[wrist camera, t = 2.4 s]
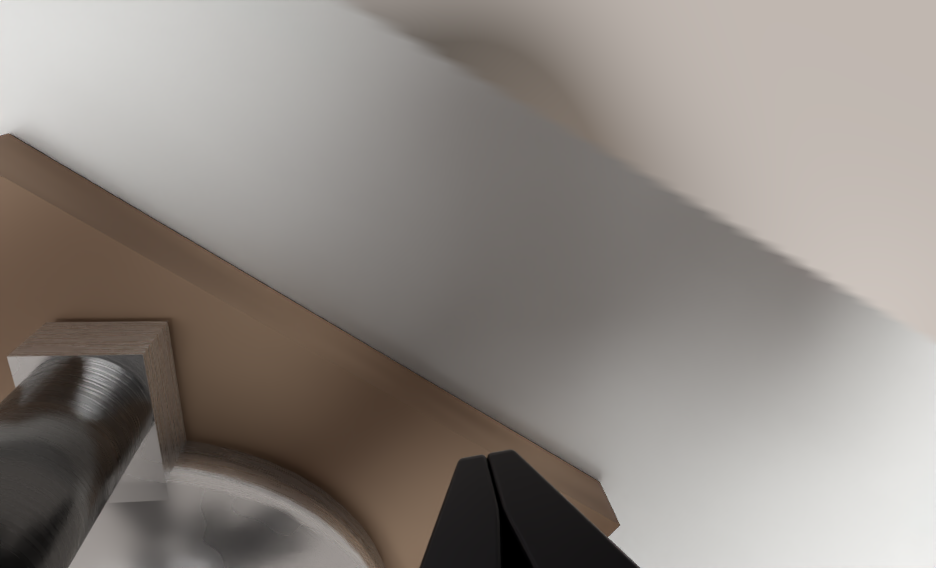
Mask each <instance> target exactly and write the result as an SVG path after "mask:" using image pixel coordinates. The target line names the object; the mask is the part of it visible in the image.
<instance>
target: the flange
mask: <svg viewBox="0 0 936 568" xmlns="http://www.w3.org/2000/svg"><path fill="white" fill-rule="evenodd" d="M7 359H8V363H9V366H10V370H11V373H12V377H13V381H14V384H15V389H14V390H13V391H12V392H11V393H10V394H9V395H8V396H7V397H6V398H5V399H4V400H3V401H2V402H1V403H0V568H385V566H384V563H383V561H382V559H381V557H380V554H379V552H378V550H377V548H376V546H375V544H374V543H373V541H372V540H371V538H370V537H369V535H368V534H367V533H366V531H365V530H364V528H363V527H362V525H361V524H360V523H359V522H358V521H357V520H356V519H355V518H354V517H353V516H352V515H351V514H350V513H349V512H348V510H347V509H346V508H345V507H344V506H343V505H341V504H340V503H339V502H338V501H336V500H335V499H334V498H333V497H331V496H330V495H329V494H327V493H326V492H325V491H324V490H322V489H321V488H319V487H318V486H316V485H314V484H313V483H311V482H309V481H308V480H306V479H305V478H303V477H301V476H300V475H298V474H296V473H294V472H292V471H290V470H288V469H285V468H283V467H281V466H279V465H277V464H274V463H272V462H270V461H268V460H265V459H262V458H259V457H256V456H253V455H250V454H247V453H244V452H241V451H238V450H234V449H230V448H225V447H221V446H216V445H211V444H207V443H202V442H194V441H186V435H185V428H184V422H183V416H182V409H181V403H180V397H179V390H178V384H177V378H176V371H175V365H174V359H173V352H172V346H171V340H170V333H169V327H168V321H134V322H46V323H45V324H44V325H43V326H42V327H40V328H39V329H38V330H37V331H36V332H35V333H33V334H32V335H31V336H30V337H29V338H28V339H27V340H25V341H24V342H23V343H22V344H21V345H20V346H18V347H17V348H16V349H15V350H14V351H13V352H12V353H10V354H9V355H8V356H7Z"/></svg>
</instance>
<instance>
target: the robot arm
mask: <svg viewBox="0 0 936 568" xmlns="http://www.w3.org/2000/svg"><path fill="white" fill-rule="evenodd" d="M419 568H640V567H639V566H638V565H637V564H636V563H634V562H633V561H632V560H631V559H630V558H629V557H628V556H627V555H626V554H625V553H624V552H623V551H622V550H621V549H620V548H618V547H617V546H616V545H615V544H614V543H613V542H612V541H611V540H610V539H609V538H608V537H607V536H606V535H605V534H604V533H602V532H601V531H600V530H599V529H598V528H597V527H596V526H595V525H594V524H593V523H592V522H591V521H590V520H589V519H588V518H586V517H585V516H584V515H583V514H582V513H581V512H580V511H579V510H578V509H577V508H576V507H575V506H574V505H573V504H572V503H570V502H569V501H568V500H567V499H566V498H565V497H564V496H563V495H562V494H561V493H560V492H559V491H558V490H557V489H556V488H554V487H553V486H552V485H551V484H550V483H549V482H548V481H547V480H546V479H545V478H544V477H543V476H542V475H541V474H540V473H538V472H537V471H536V470H535V469H534V468H533V467H532V466H531V465H530V464H529V463H528V462H527V461H526V460H525V459H524V458H522V457H521V456H520V455H519V454H518V453H517V452H516V451H515V450H512V449H508V450H503V451H497V452H492V453H489V454H488V456H487V458H486V456H485V455H475V456H470V457H464V458H461V459H460V460H459V461H458V463H457V465H456V468H455V471H454V473H453V476H452V479H451V482H450V484H449V487H448V490H447V493H446V495H445V498H444V501H443V504H442V506H441V509H440V512H439V515H438V517H437V520H436V523H435V526H434V528H433V531H432V534H431V537H430V540H429V542H428V545H427V548H426V551H425V553H424V556H423V559H422V562H421V564H420V567H419Z"/></svg>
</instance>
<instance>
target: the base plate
mask: <svg viewBox="0 0 936 568" xmlns="http://www.w3.org/2000/svg"><path fill="white" fill-rule="evenodd" d="M134 321H168V327H169V333H170V340H171V346H172V352H173V359H174V365H175V371H176V378H177V384H178V390H179V397H180V403H181V409H182V416H183V422H184V428H185V435H186V441H194V442H202V443H207V444H211V445H216V446H221V447H225V448H230V449H234V450H238V451H241V452H244V453H247V454H250V455H253V456H256V457H259V458H262V459H265V460H268V461H270V462H272V463H274V464H277V465H279V466H281V467H283V468H285V469H288V470H290V471H292V472H294V473H296V474H298V475H300V476H301V477H303V478H305V479H306V480H308V481H309V482H311V483H313V484H314V485H316V486H318V487H319V488H321V489H322V490H324V491H325V492H326V493H327V494H329V495H330V496H331V497H333V498H334V499H335V500H336V501H338V502H339V503H340V504H341V505H343V506H344V507H345V508H346V509H347V510H348V512H349V513H350V514H351V515H352V516H353V517H354V518H355V519H356V520H357V521H358V522H359V523H360V524H361V525H362V527H363V528H364V530H365V531H366V533H367V534H368V535H369V537H370V538H371V540H372V541H373V543H374V544H375V546H376V548H377V550H378V552H379V554H380V557H381V559H382V561H383V563H384V566H385V568H419V567H420V564H421V562H422V559H423V556H424V553H425V551H426V548H427V545H428V542H429V540H430V537H431V534H432V531H433V528H434V526H435V523H436V520H437V517H438V515H439V512H440V509H441V506H442V504H443V501H444V498H445V495H446V493H447V490H448V487H449V484H450V482H451V479H452V476H453V473H454V471H455V468H456V465H457V463H458V461H459V460H460V459H461V458H464V457H470V456H475V455H485V456H486V458H487V456H488V454H489V453H492V452H497V451H503V450H508V449H512V450H515V451H516V452H517V453H518V454H519V455H520V456H521V457H522V458H524V459H525V460H526V461H527V462H528V463H529V464H530V465H531V466H532V467H533V468H534V469H535V470H536V471H537V472H538V473H540V474H541V475H542V476H543V477H544V478H545V479H546V480H547V481H548V482H549V483H550V484H551V485H552V486H553V487H554V488H556V489H557V490H558V491H559V492H560V493H561V494H562V495H563V496H564V497H565V498H566V499H567V500H568V501H569V502H570V503H572V504H573V505H574V506H575V507H576V508H577V509H578V510H579V511H580V512H581V513H582V514H583V515H584V516H585V517H586V518H588V519H589V520H590V521H591V522H592V523H593V524H594V525H595V526H596V527H597V528H598V529H599V530H600V531H601V532H602V533H604V534H605V535H606V536H607V537H608V536H610V535H611V534H612V533H613V532H614V531H615V530H616V529H617V528H618V527H619V526H620V524H619V522H618V520H617V518H616V515H615V513H614V511H613V509H612V507H611V505H610V503H609V501H608V499H607V496H606V494H605V492H604V490H603V488H602V486H601V484H600V482H599V481H597V480H596V479H594V478H592V477H590V476H589V475H587V474H585V473H584V472H582V471H580V470H579V469H577V468H575V467H573V466H572V465H570V464H568V463H567V462H565V461H563V460H562V459H560V458H558V457H557V456H555V455H553V454H551V453H550V452H548V451H546V450H545V449H543V448H541V447H540V446H538V445H536V444H534V443H533V442H531V441H529V440H528V439H526V438H524V437H523V436H521V435H519V434H517V433H516V432H514V431H512V430H511V429H509V428H507V427H506V426H504V425H502V424H501V423H499V422H497V421H495V420H494V419H492V418H490V417H489V416H487V415H485V414H484V413H482V412H480V411H478V410H477V409H475V408H473V407H472V406H470V405H468V404H467V403H465V402H463V401H462V400H460V399H458V398H456V397H455V396H453V395H451V394H450V393H448V392H446V391H445V390H443V389H441V388H439V387H438V386H436V385H434V384H433V383H431V382H429V381H428V380H426V379H424V378H422V377H421V376H419V375H417V374H416V373H414V372H412V371H411V370H409V369H407V368H406V367H404V366H402V365H400V364H399V363H397V362H395V361H394V360H392V359H390V358H389V357H387V356H385V355H383V354H382V353H380V352H378V351H377V350H375V349H373V348H372V347H370V346H368V345H366V344H365V343H363V342H361V341H360V340H358V339H356V338H355V337H353V336H351V335H350V334H348V333H346V332H344V331H343V330H341V329H339V328H338V327H336V326H334V325H333V324H331V323H329V322H327V321H326V320H324V319H322V318H321V317H319V316H317V315H316V314H314V313H312V312H311V311H309V310H307V309H305V308H304V307H302V306H300V305H299V304H297V303H295V302H294V301H292V300H290V299H288V298H287V297H285V296H283V295H282V294H280V293H278V292H277V291H275V290H273V289H271V288H270V287H268V286H266V285H265V284H263V283H261V282H260V281H258V280H256V279H255V278H253V277H251V276H249V275H248V274H246V273H244V272H243V271H241V270H239V269H238V268H236V267H234V266H232V265H231V264H229V263H227V262H226V261H224V260H222V259H221V258H219V257H217V256H216V255H214V254H212V253H210V252H209V251H207V250H205V249H204V248H202V247H200V246H199V245H197V244H195V243H193V242H192V241H190V240H188V239H187V238H185V237H183V236H182V235H180V234H178V233H176V232H175V231H173V230H171V229H170V228H168V227H166V226H165V225H163V224H161V223H160V222H158V221H156V220H154V219H153V218H151V217H149V216H148V215H146V214H144V213H143V212H141V211H139V210H137V209H136V208H134V207H132V206H131V205H129V204H127V203H126V202H124V201H122V200H121V199H119V198H117V197H115V196H114V195H112V194H110V193H109V192H107V191H105V190H104V189H102V188H100V187H98V186H97V185H95V184H93V183H92V182H90V181H88V180H87V179H85V178H83V177H81V176H80V175H78V174H76V173H75V172H73V171H71V170H70V169H68V168H66V167H65V166H63V165H61V164H59V163H58V162H56V161H54V160H53V159H51V158H49V157H48V156H46V155H44V154H42V153H41V152H39V151H37V150H36V149H34V148H32V147H31V146H29V145H27V144H26V143H24V142H22V141H20V140H19V139H17V138H15V137H14V136H12V135H10V134H9V133H8V134H5V135H1V136H0V403H1V402H2V401H3V400H4V399H5V398H6V397H7V396H8V395H9V394H10V393H11V392H12V391H13V390H14V389H15V384H14V381H13V377H12V373H11V370H10V366H9V363H8V359H7V356H8V355H9V354H10V353H12V352H13V351H14V350H15V349H16V348H17V347H18V346H20V345H21V344H22V343H23V342H24V341H25V340H27V339H28V338H29V337H30V336H31V335H32V334H33V333H35V332H36V331H37V330H38V329H39V328H40V327H42V326H43V325H44V324H45V323H46V322H134Z"/></svg>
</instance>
